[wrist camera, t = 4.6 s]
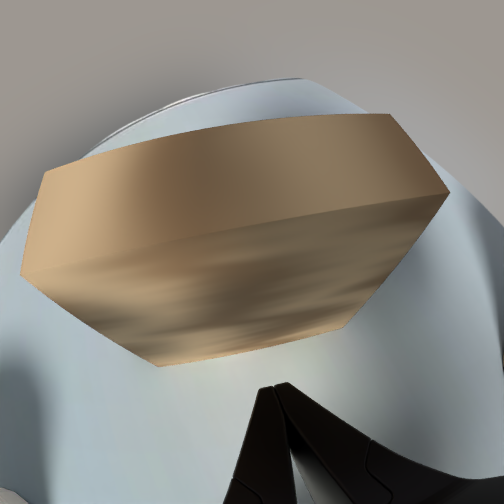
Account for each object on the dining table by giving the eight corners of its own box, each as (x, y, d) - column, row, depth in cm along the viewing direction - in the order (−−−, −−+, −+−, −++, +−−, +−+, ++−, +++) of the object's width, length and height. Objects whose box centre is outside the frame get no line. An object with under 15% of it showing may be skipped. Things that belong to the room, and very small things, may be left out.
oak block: (325, 276, 19) (389, 113, 8) (342, 327, 17) (450, 192, 7) (152, 311, 18) (45, 172, 7) (158, 367, 16) (20, 274, 5)
